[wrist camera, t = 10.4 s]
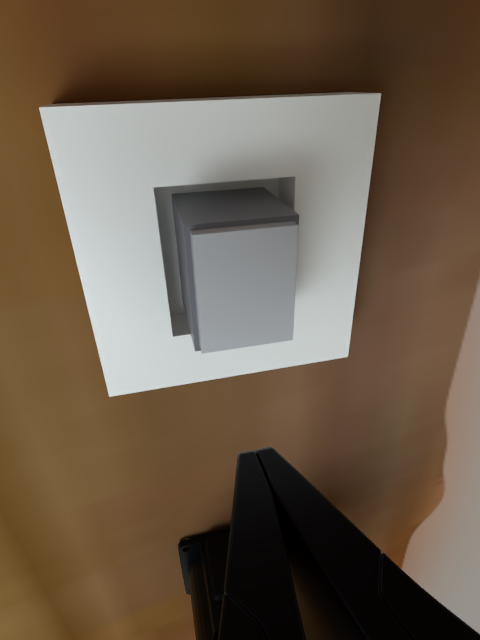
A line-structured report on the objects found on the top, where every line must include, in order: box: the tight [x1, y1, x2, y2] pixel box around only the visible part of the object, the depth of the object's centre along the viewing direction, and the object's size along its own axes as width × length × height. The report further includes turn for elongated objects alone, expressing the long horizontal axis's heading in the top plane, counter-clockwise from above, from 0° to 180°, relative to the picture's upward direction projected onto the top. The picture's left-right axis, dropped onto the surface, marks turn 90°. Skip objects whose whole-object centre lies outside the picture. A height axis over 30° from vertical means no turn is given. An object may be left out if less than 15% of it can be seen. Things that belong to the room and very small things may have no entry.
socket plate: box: [39, 92, 381, 397], centre depth 18 cm, size 12×12×2 cm
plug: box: [171, 187, 299, 354], centre depth 17 cm, size 5×4×5 cm
